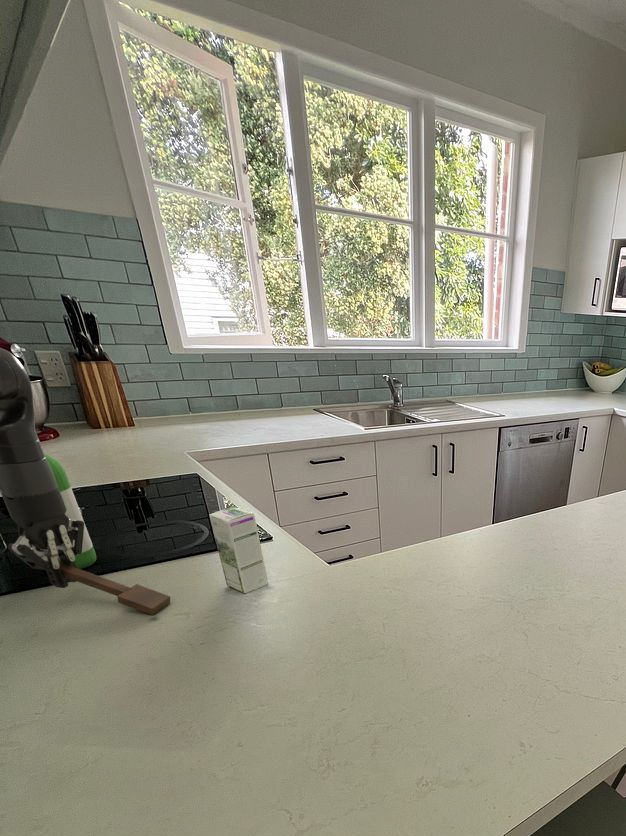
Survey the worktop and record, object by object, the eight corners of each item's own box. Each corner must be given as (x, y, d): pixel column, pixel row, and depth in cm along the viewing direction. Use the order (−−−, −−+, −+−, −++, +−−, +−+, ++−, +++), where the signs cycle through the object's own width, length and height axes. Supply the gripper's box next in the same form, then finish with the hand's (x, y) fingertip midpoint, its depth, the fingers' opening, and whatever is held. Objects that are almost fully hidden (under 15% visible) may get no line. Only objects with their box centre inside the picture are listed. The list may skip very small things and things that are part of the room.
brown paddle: (42, 575, 93) (41, 568, 93) (64, 564, 97) (63, 557, 97) (152, 615, 94) (152, 608, 93) (170, 602, 98) (170, 596, 97)
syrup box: (270, 584, 106) (256, 511, 98) (243, 594, 101) (226, 520, 94) (251, 576, 108) (236, 505, 101) (225, 586, 104) (207, 513, 96)
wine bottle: (70, 556, 114) (9, 402, 98) (106, 557, 114) (51, 403, 98) (43, 571, 107) (-27, 409, 91) (82, 573, 107) (18, 410, 91)
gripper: (44, 474, 94) (78, 566, 103) (-32, 497, 82) (14, 598, 91) (83, 478, 93) (114, 570, 102) (11, 502, 81) (54, 604, 90)
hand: (67, 583), depth 97 cm, fingers closed on brown paddle, 2 cm apart
